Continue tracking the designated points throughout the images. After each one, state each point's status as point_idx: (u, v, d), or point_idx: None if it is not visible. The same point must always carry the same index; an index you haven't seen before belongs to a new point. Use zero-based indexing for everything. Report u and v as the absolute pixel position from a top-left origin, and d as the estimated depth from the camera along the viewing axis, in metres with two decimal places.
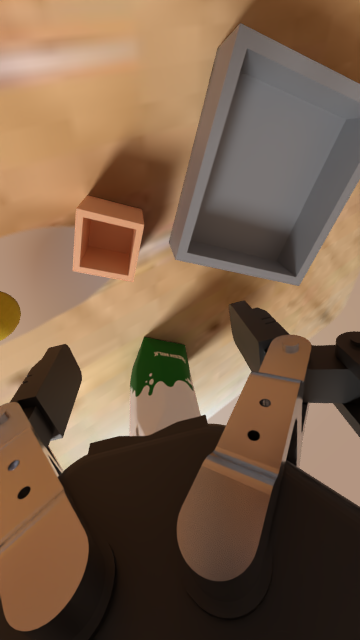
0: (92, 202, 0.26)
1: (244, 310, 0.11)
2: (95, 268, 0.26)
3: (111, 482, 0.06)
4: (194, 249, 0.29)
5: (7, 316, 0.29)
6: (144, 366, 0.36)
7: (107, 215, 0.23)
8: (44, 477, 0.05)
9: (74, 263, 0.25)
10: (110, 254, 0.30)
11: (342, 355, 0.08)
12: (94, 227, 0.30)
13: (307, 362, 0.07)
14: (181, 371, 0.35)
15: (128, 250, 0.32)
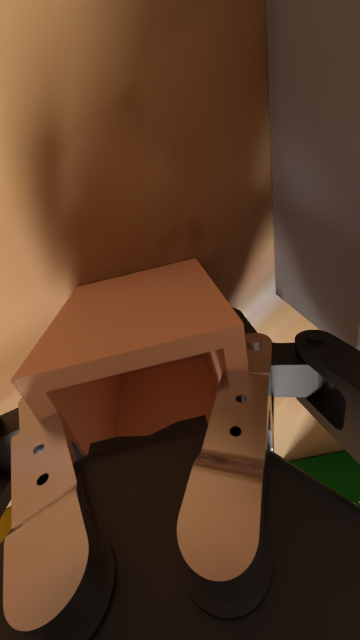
0: (80, 307, 0.10)
1: None
2: None
3: (111, 482, 0.06)
4: None
5: None
6: None
7: (115, 349, 0.07)
8: (62, 467, 0.05)
9: None
10: (169, 382, 0.13)
11: (302, 354, 0.08)
12: None
13: (265, 358, 0.08)
14: None
15: None
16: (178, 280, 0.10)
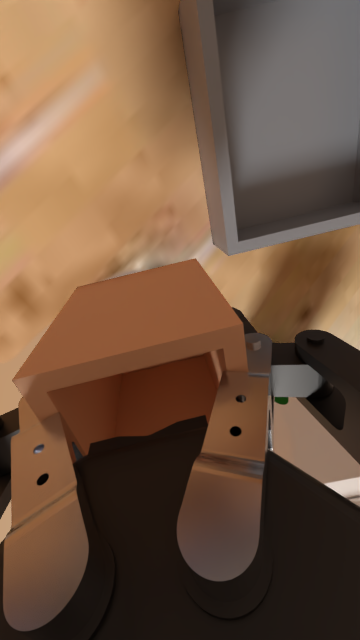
0: (81, 307, 0.10)
1: None
2: None
3: (111, 482, 0.06)
4: (244, 235, 0.24)
5: None
6: None
7: (115, 350, 0.07)
8: (62, 467, 0.05)
9: None
10: (169, 382, 0.13)
11: (302, 353, 0.08)
12: None
13: (265, 358, 0.08)
14: None
15: None
16: (178, 280, 0.10)
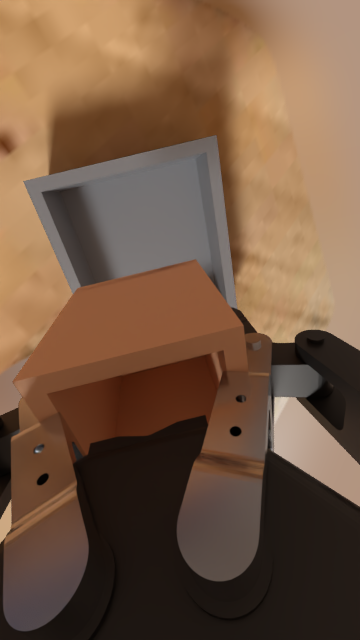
0: (81, 308, 0.10)
1: None
2: None
3: (111, 482, 0.06)
4: None
5: None
6: None
7: (115, 351, 0.07)
8: (62, 467, 0.05)
9: None
10: (169, 383, 0.13)
11: (302, 353, 0.08)
12: None
13: (265, 358, 0.08)
14: None
15: None
16: (178, 281, 0.10)
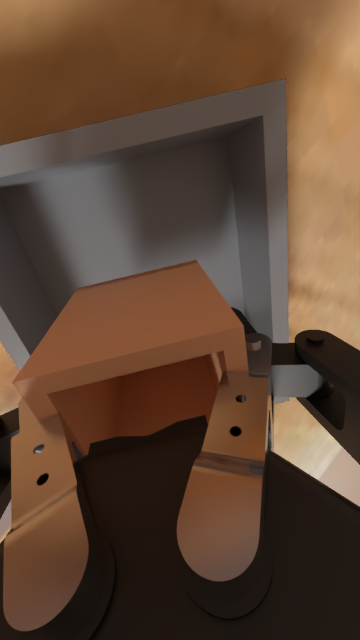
0: (81, 309, 0.10)
1: None
2: None
3: (111, 482, 0.06)
4: None
5: None
6: None
7: (115, 352, 0.07)
8: (63, 467, 0.05)
9: None
10: (169, 383, 0.13)
11: (302, 353, 0.08)
12: None
13: (265, 358, 0.08)
14: None
15: None
16: (178, 282, 0.10)
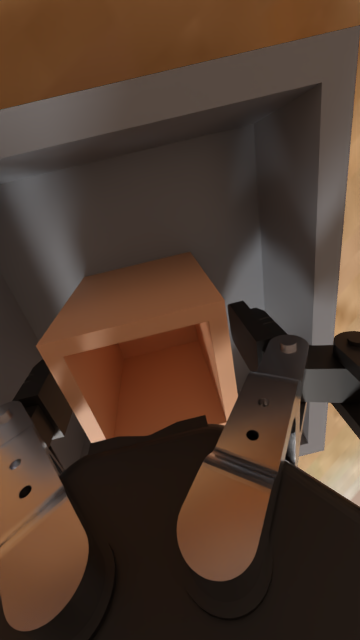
0: (88, 293, 0.11)
1: (242, 310, 0.11)
2: (147, 435, 0.11)
3: (111, 482, 0.06)
4: None
5: None
6: None
7: (119, 322, 0.08)
8: (45, 476, 0.05)
9: None
10: (166, 363, 0.15)
11: (339, 355, 0.08)
12: None
13: (304, 362, 0.07)
14: None
15: (194, 335, 0.16)
16: (173, 270, 0.12)
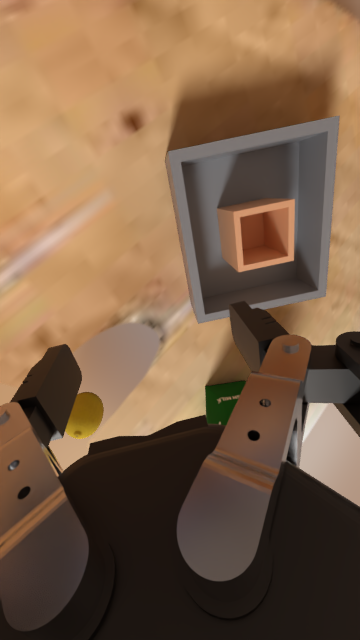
0: (230, 208, 0.28)
1: (244, 310, 0.11)
2: (256, 262, 0.27)
3: (111, 482, 0.06)
4: (211, 306, 0.33)
5: (93, 411, 0.37)
6: (213, 415, 0.39)
7: (259, 206, 0.25)
8: (45, 477, 0.05)
9: (239, 264, 0.27)
10: (251, 251, 0.31)
11: (342, 355, 0.08)
12: None
13: (307, 362, 0.07)
14: None
15: (263, 242, 0.32)
16: (264, 200, 0.28)
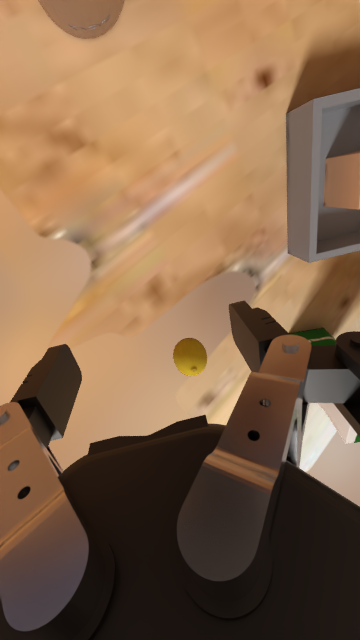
0: (347, 154, 0.32)
1: (244, 310, 0.11)
2: None
3: (111, 482, 0.06)
4: (316, 249, 0.37)
5: (203, 351, 0.41)
6: None
7: None
8: (44, 476, 0.05)
9: None
10: None
11: (342, 355, 0.08)
12: None
13: (307, 362, 0.07)
14: None
15: None
16: None
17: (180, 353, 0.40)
